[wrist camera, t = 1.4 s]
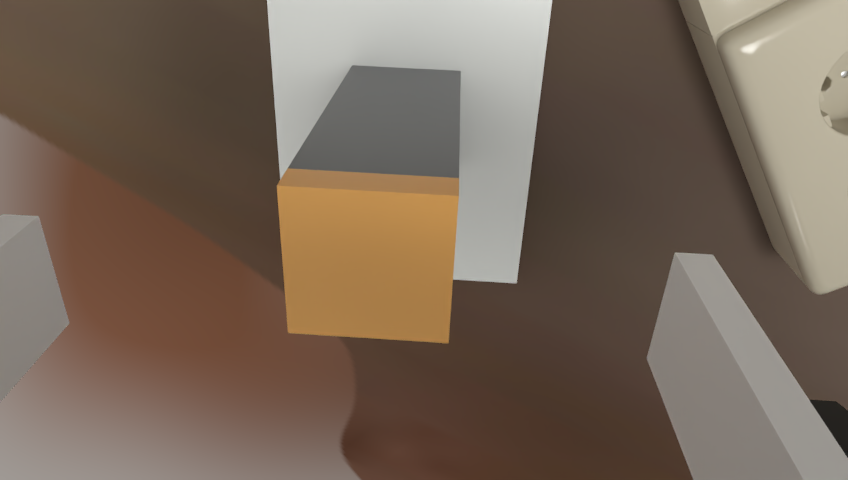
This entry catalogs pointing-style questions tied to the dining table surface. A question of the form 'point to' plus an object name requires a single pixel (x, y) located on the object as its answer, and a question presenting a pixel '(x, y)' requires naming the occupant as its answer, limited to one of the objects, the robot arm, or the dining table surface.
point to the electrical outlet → (786, 119)
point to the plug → (375, 209)
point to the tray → (440, 50)
